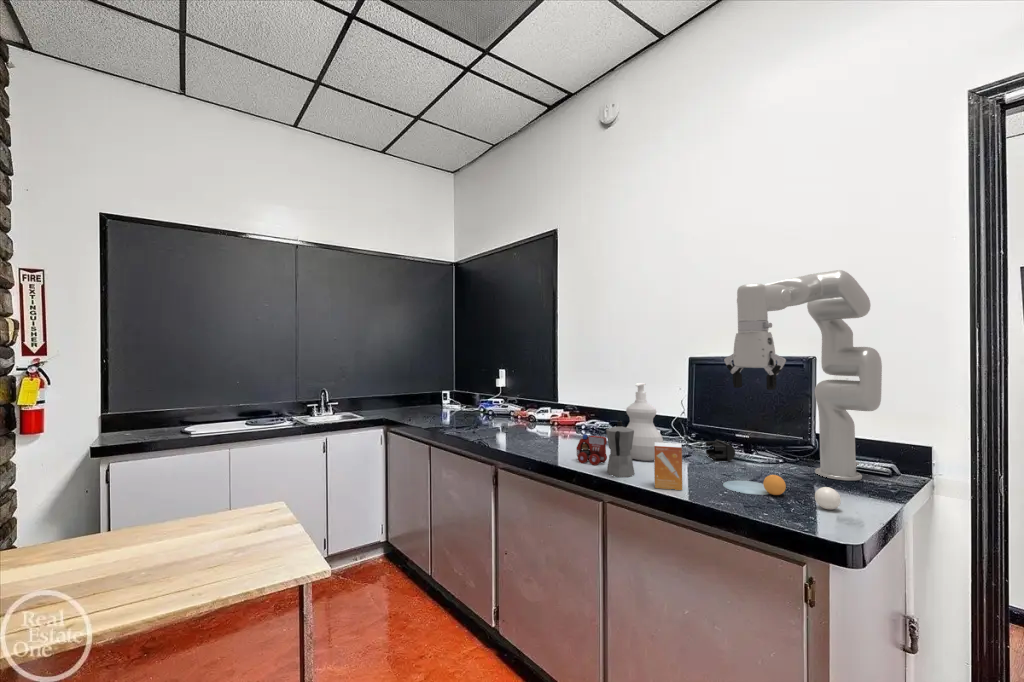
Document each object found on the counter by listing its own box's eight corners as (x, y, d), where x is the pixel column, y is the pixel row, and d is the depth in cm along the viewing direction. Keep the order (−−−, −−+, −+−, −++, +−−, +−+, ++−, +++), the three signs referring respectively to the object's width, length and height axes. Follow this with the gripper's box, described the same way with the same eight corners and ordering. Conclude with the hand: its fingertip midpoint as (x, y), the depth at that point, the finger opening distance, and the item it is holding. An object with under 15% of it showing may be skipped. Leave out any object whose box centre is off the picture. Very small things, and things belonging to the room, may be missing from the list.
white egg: (822, 504, 122) (821, 483, 122) (845, 510, 117) (844, 488, 117) (810, 507, 119) (810, 486, 119) (834, 514, 114) (833, 491, 115)
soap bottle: (615, 458, 177) (614, 383, 177) (627, 453, 186) (626, 381, 186) (657, 464, 166) (656, 384, 167) (668, 459, 175) (667, 382, 176)
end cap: (735, 462, 169) (735, 444, 169) (716, 462, 169) (716, 444, 169) (723, 456, 179) (723, 439, 179) (705, 456, 179) (705, 439, 179)
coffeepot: (609, 468, 162) (608, 417, 163) (636, 470, 159) (635, 418, 160) (602, 479, 148) (602, 424, 148) (632, 482, 144) (631, 425, 145)
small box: (654, 488, 137) (653, 445, 138) (654, 483, 143) (653, 441, 144) (683, 491, 135) (682, 447, 135) (681, 485, 141) (681, 442, 141)
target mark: (741, 478, 147) (741, 478, 147) (785, 490, 135) (785, 489, 135) (713, 485, 140) (713, 484, 140) (756, 497, 128) (756, 496, 128)
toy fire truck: (582, 458, 178) (582, 431, 178) (611, 463, 170) (610, 435, 170) (572, 461, 172) (572, 434, 173) (601, 467, 164) (601, 438, 165)
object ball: (770, 490, 134) (770, 471, 134) (790, 495, 129) (789, 476, 129) (759, 493, 132) (758, 474, 132) (778, 498, 127) (778, 478, 127)
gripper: (791, 326, 123) (793, 389, 122) (732, 329, 138) (733, 386, 137) (776, 325, 119) (777, 391, 118) (716, 329, 134) (718, 387, 133)
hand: (754, 388), depth 128 cm, fingers open, 9 cm apart
